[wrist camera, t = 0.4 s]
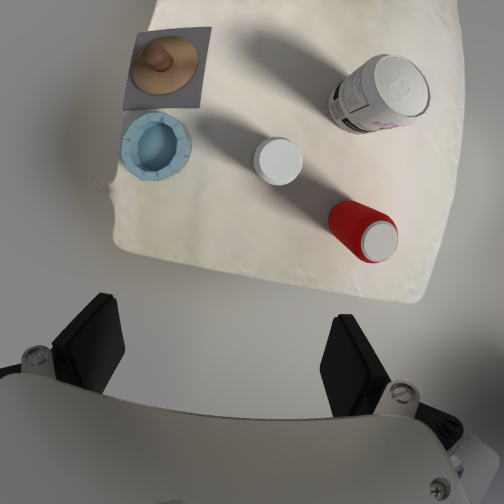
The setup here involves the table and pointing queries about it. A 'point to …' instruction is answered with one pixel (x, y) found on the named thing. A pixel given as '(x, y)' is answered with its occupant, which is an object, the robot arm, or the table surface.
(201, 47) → the mat
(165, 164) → the bowl
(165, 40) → the lid
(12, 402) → the robot arm
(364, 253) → the beverage can
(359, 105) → the supplement can
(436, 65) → the table surface
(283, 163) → the pill bottle
